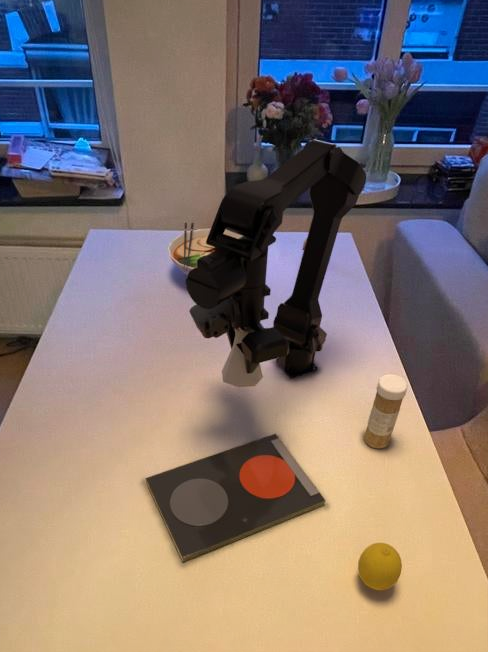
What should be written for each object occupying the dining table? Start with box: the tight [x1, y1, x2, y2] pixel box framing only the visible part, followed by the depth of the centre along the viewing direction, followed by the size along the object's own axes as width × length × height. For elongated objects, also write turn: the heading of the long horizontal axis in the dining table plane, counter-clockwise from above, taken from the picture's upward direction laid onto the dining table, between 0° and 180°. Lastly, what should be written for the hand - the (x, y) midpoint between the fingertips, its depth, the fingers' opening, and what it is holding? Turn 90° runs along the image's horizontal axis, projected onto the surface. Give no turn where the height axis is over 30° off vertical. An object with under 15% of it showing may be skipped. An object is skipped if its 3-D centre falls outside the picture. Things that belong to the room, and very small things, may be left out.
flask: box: [221, 328, 264, 388], centre depth 86 cm, size 7×7×10 cm
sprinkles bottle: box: [363, 373, 408, 449], centre depth 88 cm, size 5×5×14 cm
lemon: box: [357, 542, 403, 591], centre depth 70 cm, size 6×6×8 cm
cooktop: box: [145, 433, 326, 563], centre depth 84 cm, size 24×16×2 cm, turn 115°
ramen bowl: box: [167, 222, 242, 277], centre depth 132 cm, size 25×23×8 cm
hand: (242, 363), depth 88 cm, fingers closed on flask, 5 cm apart
